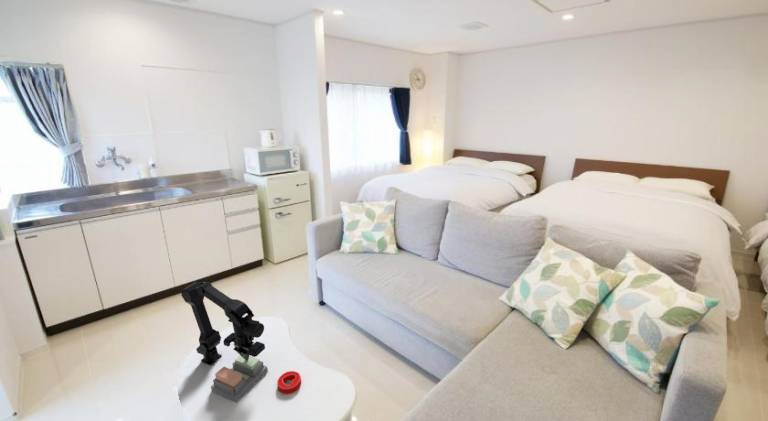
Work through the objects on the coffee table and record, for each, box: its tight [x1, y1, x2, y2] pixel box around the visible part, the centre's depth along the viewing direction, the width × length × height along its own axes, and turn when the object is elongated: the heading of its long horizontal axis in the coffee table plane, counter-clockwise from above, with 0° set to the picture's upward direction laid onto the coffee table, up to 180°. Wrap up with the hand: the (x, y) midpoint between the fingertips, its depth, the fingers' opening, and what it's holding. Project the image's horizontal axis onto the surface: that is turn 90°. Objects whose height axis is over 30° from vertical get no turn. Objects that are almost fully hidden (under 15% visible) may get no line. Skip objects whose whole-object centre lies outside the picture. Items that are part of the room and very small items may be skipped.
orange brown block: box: [214, 366, 242, 388], centre depth 139 cm, size 10×4×4 cm, turn 65°
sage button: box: [234, 354, 261, 371], centre depth 148 cm, size 10×4×4 cm, turn 65°
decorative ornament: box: [276, 370, 302, 395], centre depth 143 cm, size 10×10×3 cm
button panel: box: [210, 360, 269, 404], centre depth 145 cm, size 14×18×6 cm
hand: (246, 359), depth 148 cm, fingers closed, pressing on sage button
